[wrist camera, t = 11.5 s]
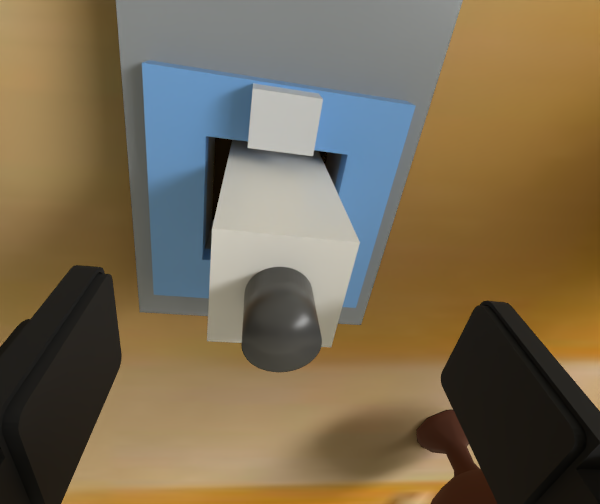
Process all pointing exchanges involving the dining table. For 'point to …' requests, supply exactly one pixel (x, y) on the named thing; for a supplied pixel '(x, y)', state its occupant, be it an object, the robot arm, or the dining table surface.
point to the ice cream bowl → (455, 461)
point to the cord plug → (278, 257)
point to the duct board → (282, 52)
